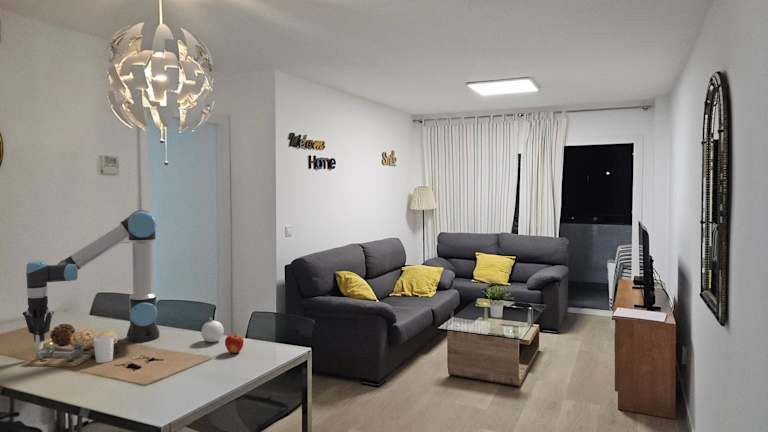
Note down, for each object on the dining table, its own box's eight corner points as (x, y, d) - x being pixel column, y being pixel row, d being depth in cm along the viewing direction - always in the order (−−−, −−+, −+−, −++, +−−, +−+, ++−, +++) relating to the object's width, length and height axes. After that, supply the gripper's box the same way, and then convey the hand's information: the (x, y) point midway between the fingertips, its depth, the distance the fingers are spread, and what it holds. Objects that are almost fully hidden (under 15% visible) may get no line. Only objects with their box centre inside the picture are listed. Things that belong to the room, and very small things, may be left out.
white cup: (118, 358, 241) (117, 336, 240) (105, 364, 234) (104, 341, 233) (104, 356, 243) (103, 335, 242) (90, 362, 236) (89, 340, 235)
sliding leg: (55, 354, 242) (54, 341, 242) (42, 360, 234) (42, 347, 233) (48, 354, 242) (48, 341, 242) (36, 360, 234) (35, 347, 234)
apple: (234, 348, 254) (234, 328, 254) (247, 351, 250) (246, 330, 249) (221, 353, 247) (221, 332, 247) (234, 356, 243) (233, 335, 243)
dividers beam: (84, 355, 242) (83, 342, 241) (72, 362, 233) (71, 349, 233) (40, 354, 243) (40, 342, 242) (27, 361, 234) (27, 348, 234)
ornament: (197, 343, 262) (197, 319, 261) (209, 337, 272) (208, 314, 271) (216, 345, 259) (216, 321, 258) (227, 339, 269) (227, 315, 268)
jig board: (91, 357, 243) (91, 354, 243) (74, 366, 231) (74, 364, 231) (41, 356, 244) (41, 353, 244) (22, 365, 232) (22, 363, 232)
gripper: (57, 294, 242) (59, 346, 244) (29, 294, 242) (31, 345, 244) (46, 298, 234) (48, 351, 236) (17, 298, 235) (19, 350, 237)
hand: (39, 348), depth 240 cm, fingers closed
